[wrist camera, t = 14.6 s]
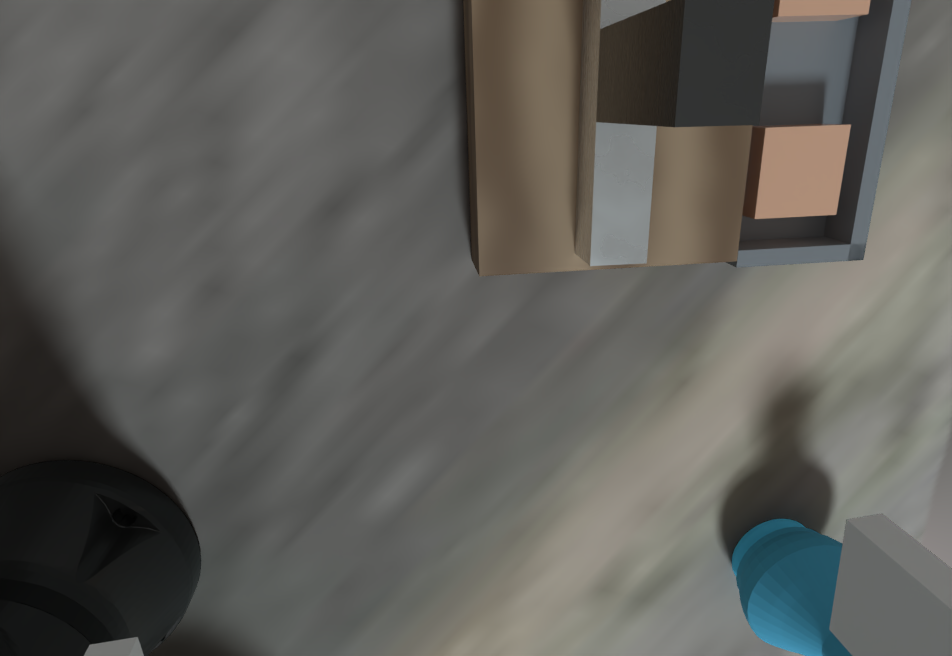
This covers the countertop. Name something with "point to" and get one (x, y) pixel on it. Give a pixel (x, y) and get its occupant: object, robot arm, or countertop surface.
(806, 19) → the tile
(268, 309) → the countertop surface
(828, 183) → the tile
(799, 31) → the tray
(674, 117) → the grey bar
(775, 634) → the perfume bottle
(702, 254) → the board
